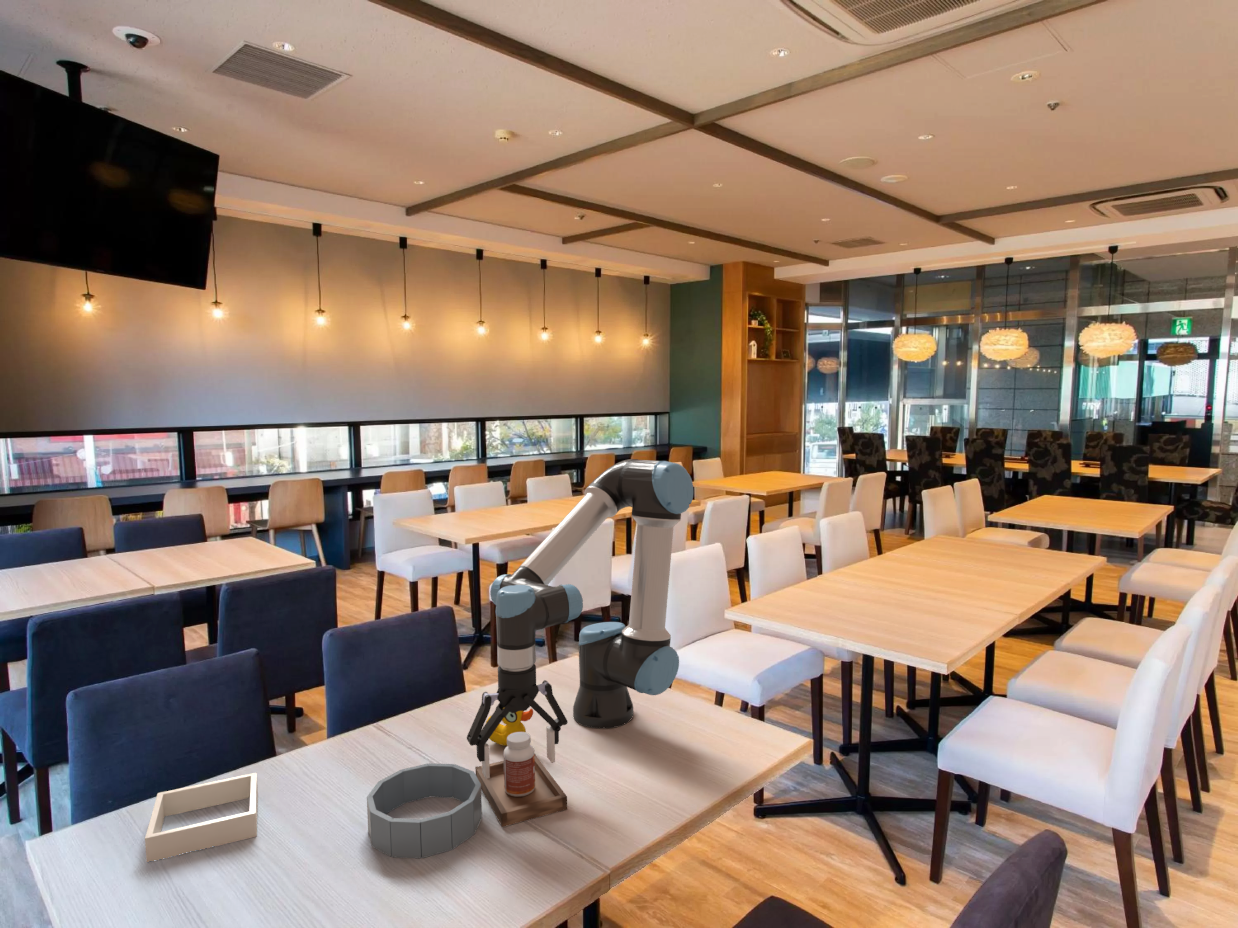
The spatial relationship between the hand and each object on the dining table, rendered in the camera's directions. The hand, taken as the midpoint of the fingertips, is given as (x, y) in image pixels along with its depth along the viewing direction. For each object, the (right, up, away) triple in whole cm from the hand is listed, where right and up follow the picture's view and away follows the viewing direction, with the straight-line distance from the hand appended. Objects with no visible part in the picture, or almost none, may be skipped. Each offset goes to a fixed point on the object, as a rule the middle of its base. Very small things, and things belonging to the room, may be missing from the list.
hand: (519, 767), depth 144 cm
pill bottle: (0, -5, 0) cm, 5 cm away
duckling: (-5, -4, +21) cm, 22 cm away
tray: (0, -6, 0) cm, 6 cm away
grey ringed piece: (-16, -7, -10) cm, 20 cm away
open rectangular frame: (-57, -7, -10) cm, 58 cm away
